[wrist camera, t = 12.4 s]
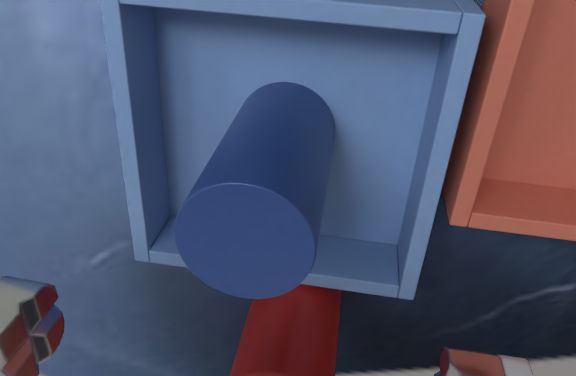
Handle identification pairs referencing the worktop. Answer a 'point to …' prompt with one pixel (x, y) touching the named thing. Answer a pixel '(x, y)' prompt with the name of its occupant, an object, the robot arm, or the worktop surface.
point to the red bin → (518, 124)
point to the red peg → (291, 334)
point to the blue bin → (319, 78)
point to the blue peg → (261, 196)
